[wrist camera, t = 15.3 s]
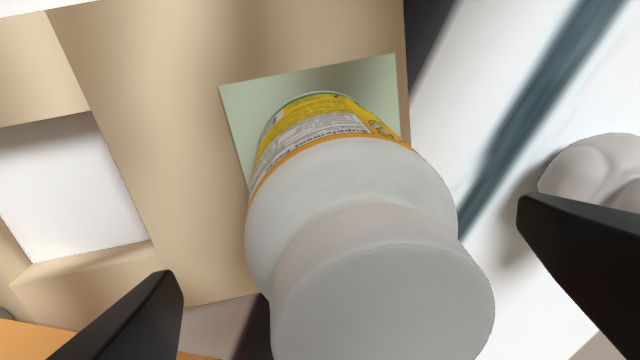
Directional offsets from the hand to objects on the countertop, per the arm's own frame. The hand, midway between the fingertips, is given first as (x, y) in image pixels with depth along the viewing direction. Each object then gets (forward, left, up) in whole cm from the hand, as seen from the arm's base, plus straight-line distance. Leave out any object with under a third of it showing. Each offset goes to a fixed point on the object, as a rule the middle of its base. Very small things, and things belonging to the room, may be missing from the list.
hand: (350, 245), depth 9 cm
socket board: (+7, 0, -8) cm, 11 cm away
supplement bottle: (0, 0, -7) cm, 7 cm away
